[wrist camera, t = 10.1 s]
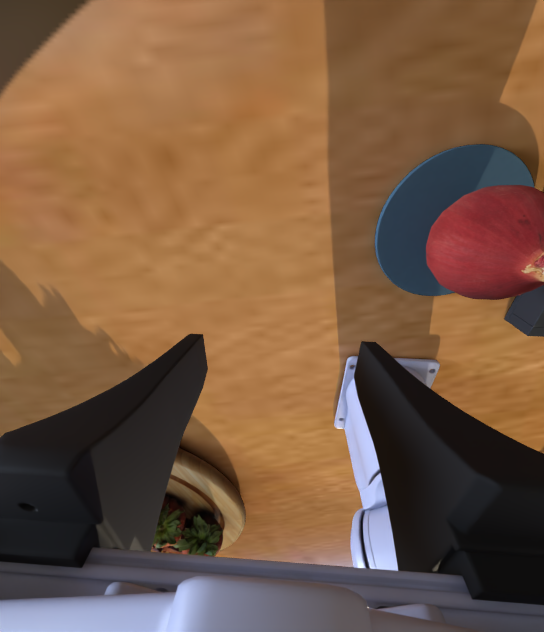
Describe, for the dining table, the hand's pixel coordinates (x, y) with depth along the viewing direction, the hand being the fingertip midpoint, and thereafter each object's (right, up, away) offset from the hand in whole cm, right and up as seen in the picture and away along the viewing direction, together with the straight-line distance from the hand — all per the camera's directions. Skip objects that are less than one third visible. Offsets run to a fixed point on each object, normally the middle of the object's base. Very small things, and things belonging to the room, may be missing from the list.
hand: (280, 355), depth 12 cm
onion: (+12, +8, +5) cm, 15 cm away
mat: (+12, +8, +6) cm, 15 cm away
